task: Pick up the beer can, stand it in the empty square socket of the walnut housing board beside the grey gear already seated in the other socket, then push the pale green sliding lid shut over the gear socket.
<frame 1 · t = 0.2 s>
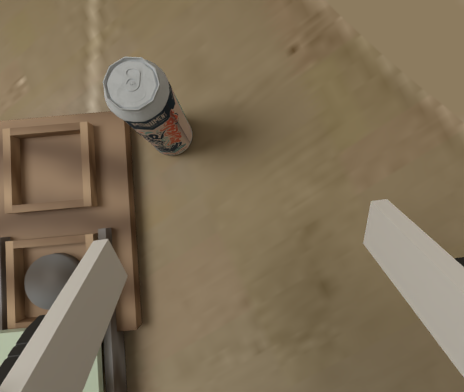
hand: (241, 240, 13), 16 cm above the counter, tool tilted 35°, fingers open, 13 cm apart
housing: (66, 222, 28), on the counter
lid: (36, 389, 22), point 5 cm above the counter, slide at 9.0 cm
beer can: (173, 137, 29), on the counter
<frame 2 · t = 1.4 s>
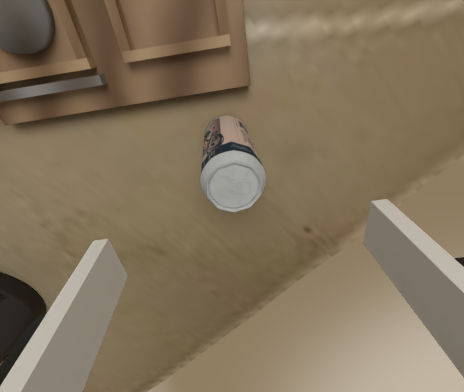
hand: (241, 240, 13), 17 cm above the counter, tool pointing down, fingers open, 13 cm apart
housing: (97, 3, 21), on the counter
beer can: (226, 135, 27), on the counter
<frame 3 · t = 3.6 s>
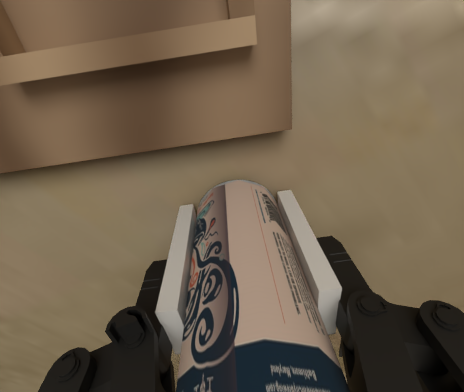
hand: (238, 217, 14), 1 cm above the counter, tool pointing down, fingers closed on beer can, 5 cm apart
beer can: (236, 208, 15), on the counter, touching gripper
when the fingers open (4 cm above the counter, at t = 7.7 s): beer can drops 2 cm, resting on housing.
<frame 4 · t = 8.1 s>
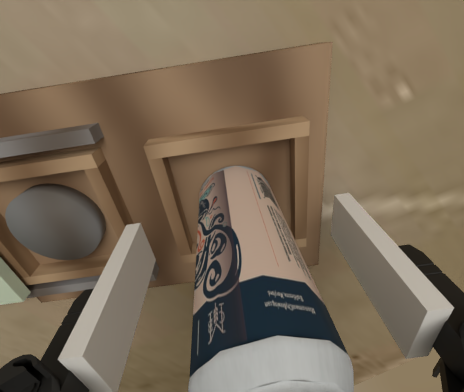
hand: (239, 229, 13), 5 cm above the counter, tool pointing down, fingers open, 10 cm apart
housing: (153, 195, 18), on the counter
beer can: (234, 193, 17), point 1 cm above the counter, touching housing
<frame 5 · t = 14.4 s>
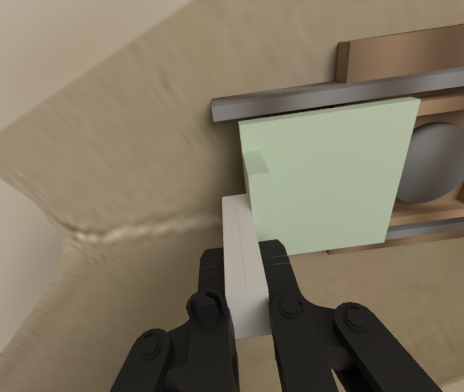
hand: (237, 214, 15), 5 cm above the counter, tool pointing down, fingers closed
lid: (330, 202, 15), point 5 cm above the counter, slide at 7.8 cm, touching gripper
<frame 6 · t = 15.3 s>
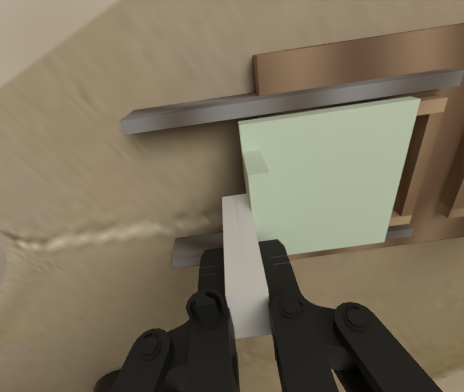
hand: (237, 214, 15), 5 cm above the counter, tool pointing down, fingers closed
housing: (419, 151, 19), on the counter
lid: (330, 202, 15), point 5 cm above the counter, slide at 2.7 cm, touching gripper
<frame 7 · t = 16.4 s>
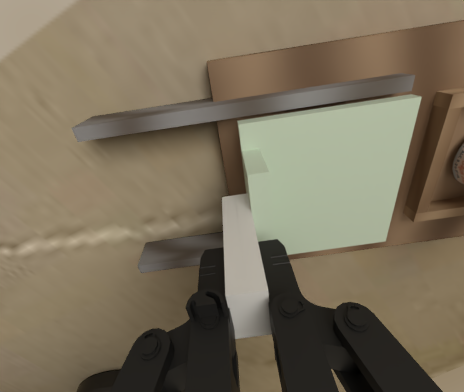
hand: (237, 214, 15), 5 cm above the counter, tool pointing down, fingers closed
housing: (384, 155, 19), on the counter
lid: (330, 201, 14), point 5 cm above the counter, slide at 0.0 cm, touching gripper
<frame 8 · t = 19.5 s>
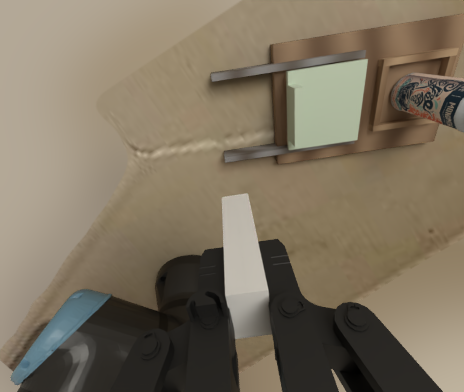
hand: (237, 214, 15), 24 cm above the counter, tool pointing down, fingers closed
housing: (357, 96, 35), on the counter
lid: (328, 110, 31), point 5 cm above the counter, slide at 0.0 cm
beer can: (405, 91, 34), point 1 cm above the counter, touching housing
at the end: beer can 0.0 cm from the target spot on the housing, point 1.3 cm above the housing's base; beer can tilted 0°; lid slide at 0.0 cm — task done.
